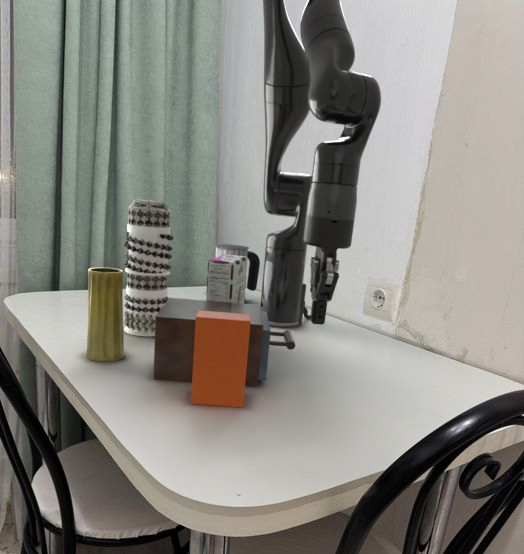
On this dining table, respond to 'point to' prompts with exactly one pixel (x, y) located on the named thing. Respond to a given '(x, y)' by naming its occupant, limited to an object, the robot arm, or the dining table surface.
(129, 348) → the dining table surface
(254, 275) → the milk frother
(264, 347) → the drawer
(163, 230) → the white patterned cylinder
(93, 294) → the vase
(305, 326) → the dining table surface
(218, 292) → the candy bar box
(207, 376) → the orange rectangular prism
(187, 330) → the cabinet
